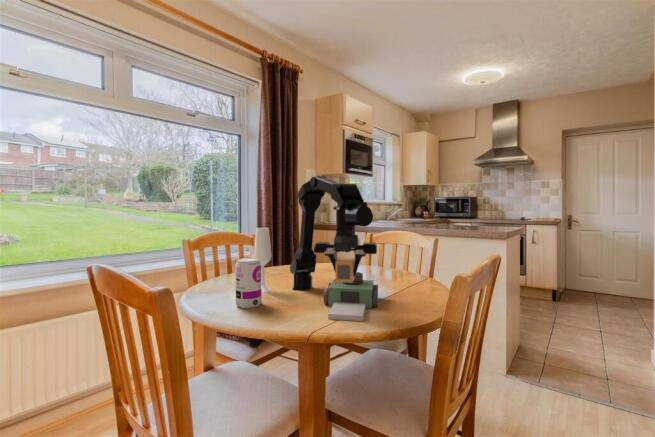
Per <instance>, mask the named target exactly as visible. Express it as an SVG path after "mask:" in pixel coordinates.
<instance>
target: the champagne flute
mask: <svg viewBox="0 0 655 437" xmlns="http://www.w3.org/2000/svg"><path fill="white" fill-rule="evenodd" d="M269 228H270V227H256V228H255V235H254V236H255V238H254V248H253V249H254V251H253V252H254V253H253V258H257V259H259V261H260V263H261V288H262V294H265V293H271V292H273V289H271V287H270V288H269V286H266V284H265V272H266V271H265V266H266V265H268V263H269V262H270V261H271V259H272V246H271V245H272V244H271V238H270V237H271V236H270V229H269Z"/></svg>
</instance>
